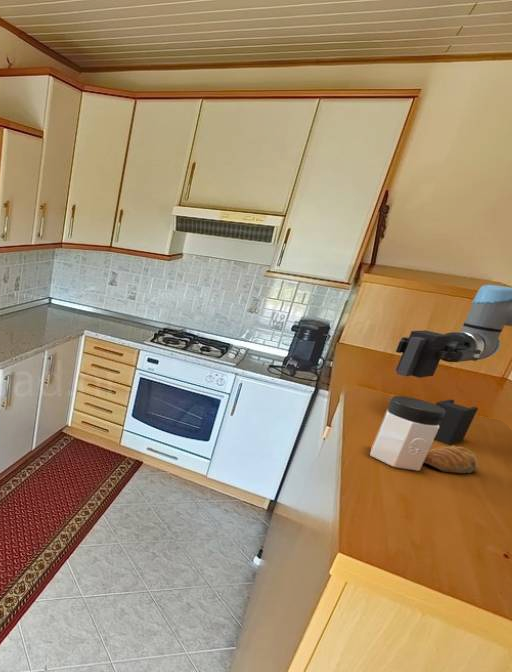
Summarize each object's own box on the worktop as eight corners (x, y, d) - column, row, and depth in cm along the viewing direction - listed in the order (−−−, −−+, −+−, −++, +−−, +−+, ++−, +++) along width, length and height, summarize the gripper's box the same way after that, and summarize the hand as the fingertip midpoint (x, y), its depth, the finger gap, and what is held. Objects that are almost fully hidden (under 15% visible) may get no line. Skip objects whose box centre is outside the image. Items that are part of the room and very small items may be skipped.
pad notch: (436, 430, 114) (450, 399, 111) (462, 440, 110) (478, 407, 107) (422, 434, 111) (436, 402, 108) (448, 444, 106) (464, 411, 104)
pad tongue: (409, 369, 122) (425, 330, 118) (433, 375, 118) (450, 335, 114) (389, 371, 117) (405, 331, 114) (413, 378, 113) (430, 336, 110)
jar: (381, 466, 92) (406, 408, 88) (358, 447, 100) (380, 392, 96) (432, 474, 91) (460, 415, 87) (405, 454, 99) (429, 399, 95)
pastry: (447, 477, 91) (456, 459, 90) (409, 459, 97) (416, 442, 96) (478, 473, 94) (487, 455, 93) (439, 456, 100) (447, 439, 99)
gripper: (496, 372, 118) (453, 378, 108) (411, 350, 133) (366, 354, 122) (510, 342, 116) (468, 346, 105) (422, 323, 131) (376, 325, 120)
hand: (413, 350), depth 114 cm, fingers closed on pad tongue, 5 cm apart
